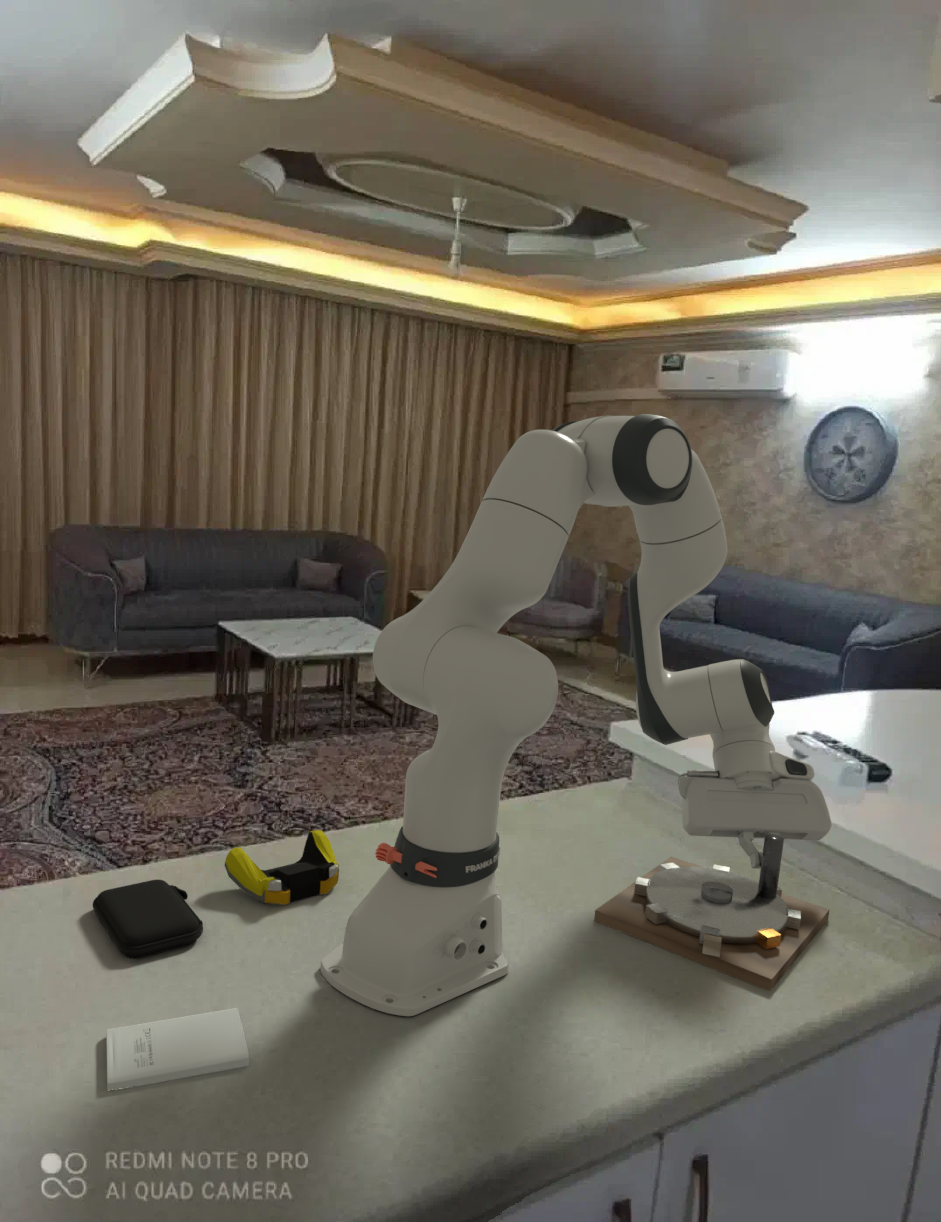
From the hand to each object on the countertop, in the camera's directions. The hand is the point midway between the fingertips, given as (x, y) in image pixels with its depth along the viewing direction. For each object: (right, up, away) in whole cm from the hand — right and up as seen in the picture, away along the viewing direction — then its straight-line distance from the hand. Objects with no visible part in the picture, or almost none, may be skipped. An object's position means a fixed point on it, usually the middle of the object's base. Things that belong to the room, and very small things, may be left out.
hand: (764, 867), depth 123 cm
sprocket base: (-8, -6, -3) cm, 10 cm away
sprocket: (-7, -4, -3) cm, 9 cm away
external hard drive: (-68, -8, -36) cm, 77 cm away
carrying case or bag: (-78, -4, -13) cm, 79 cm away
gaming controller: (-64, -2, -2) cm, 64 cm away
